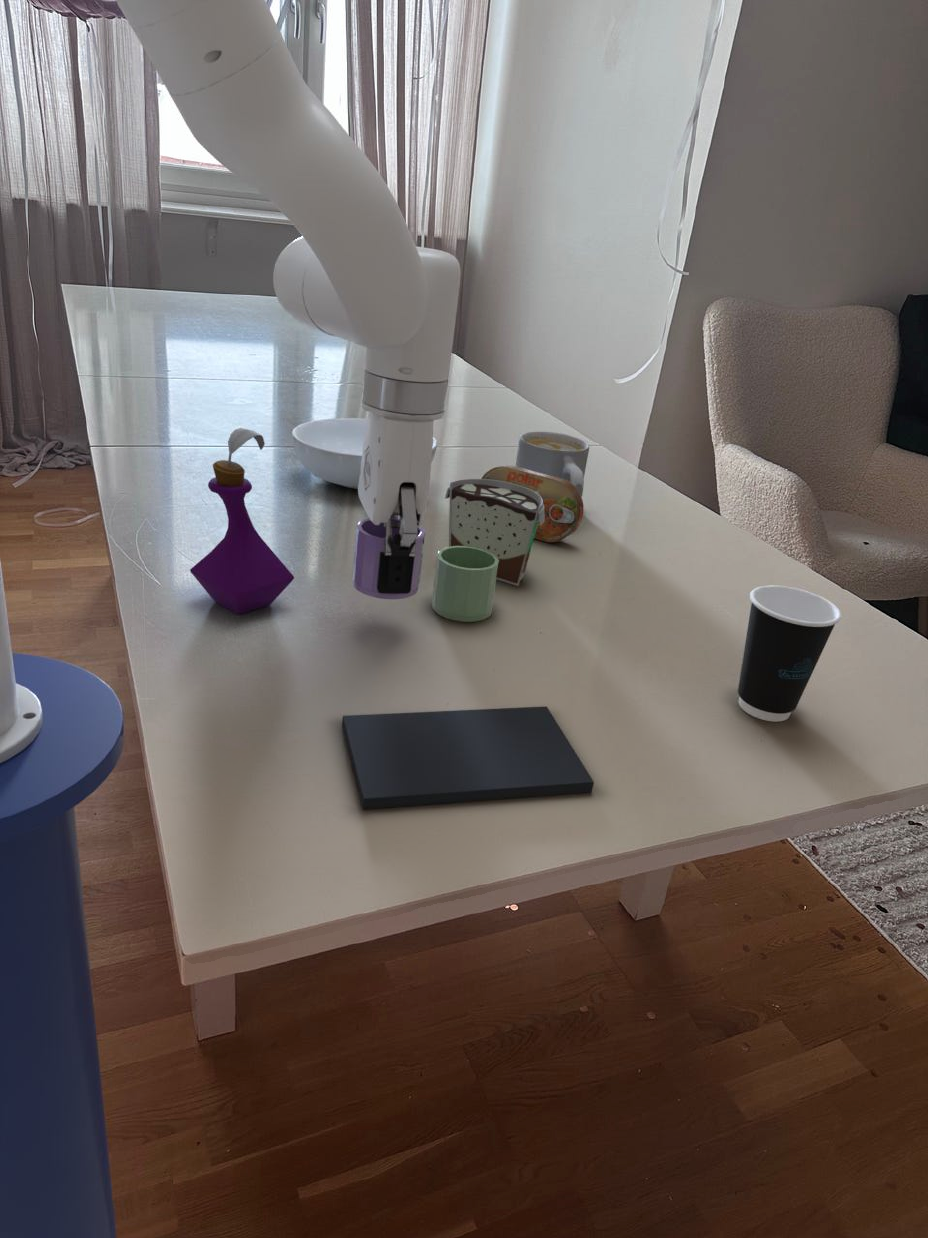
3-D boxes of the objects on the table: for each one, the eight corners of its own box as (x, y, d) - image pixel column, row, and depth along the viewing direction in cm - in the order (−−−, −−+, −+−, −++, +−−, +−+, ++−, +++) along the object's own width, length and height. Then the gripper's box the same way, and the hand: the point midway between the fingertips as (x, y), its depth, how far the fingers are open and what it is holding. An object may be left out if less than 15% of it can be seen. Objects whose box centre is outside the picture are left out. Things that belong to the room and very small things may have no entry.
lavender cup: (357, 599, 85) (363, 540, 82) (348, 571, 90) (352, 515, 88) (424, 599, 87) (431, 542, 84) (410, 573, 92) (416, 518, 90)
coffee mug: (503, 495, 134) (512, 429, 129) (565, 497, 136) (576, 433, 132) (526, 527, 122) (537, 456, 118) (594, 529, 124) (607, 460, 120)
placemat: (362, 809, 65) (363, 798, 64) (341, 725, 74) (342, 715, 74) (592, 792, 70) (594, 782, 69) (545, 715, 79) (546, 706, 79)
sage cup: (439, 622, 93) (445, 569, 91) (426, 595, 99) (431, 545, 96) (498, 621, 95) (506, 569, 92) (482, 595, 100) (488, 545, 98)
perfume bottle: (234, 625, 87) (234, 445, 80) (189, 599, 92) (185, 425, 84) (294, 606, 93) (300, 435, 85) (249, 581, 97) (250, 416, 89)
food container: (550, 574, 108) (564, 495, 104) (530, 590, 103) (543, 508, 99) (461, 546, 113) (470, 470, 109) (437, 560, 108) (446, 481, 104)
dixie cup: (739, 677, 90) (768, 577, 85) (818, 709, 86) (852, 605, 81) (708, 706, 84) (737, 600, 79) (791, 741, 80) (826, 632, 75)
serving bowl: (385, 455, 146) (388, 413, 143) (460, 496, 131) (465, 450, 128) (266, 465, 134) (267, 419, 131) (334, 511, 119) (336, 461, 116)
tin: (472, 519, 123) (479, 459, 119) (483, 514, 125) (491, 455, 121) (570, 550, 116) (581, 488, 112) (580, 544, 119) (591, 483, 115)
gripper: (349, 371, 87) (336, 543, 94) (380, 415, 72) (362, 615, 80) (424, 377, 89) (405, 545, 97) (469, 421, 74) (443, 615, 82)
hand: (386, 575), depth 88 cm, fingers closed on lavender cup, 6 cm apart
